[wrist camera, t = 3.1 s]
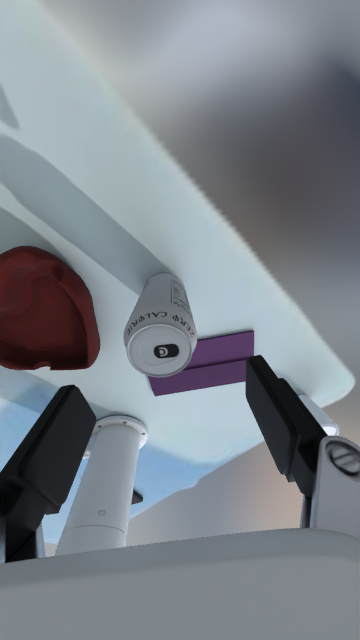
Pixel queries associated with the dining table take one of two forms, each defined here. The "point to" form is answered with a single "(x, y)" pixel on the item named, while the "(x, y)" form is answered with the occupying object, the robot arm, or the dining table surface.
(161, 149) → the dining table surface
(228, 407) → the dining table surface
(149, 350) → the energy drink can
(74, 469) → the robot arm
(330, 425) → the shot glass
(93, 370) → the dining table surface
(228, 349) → the napkin
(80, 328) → the ashtray
